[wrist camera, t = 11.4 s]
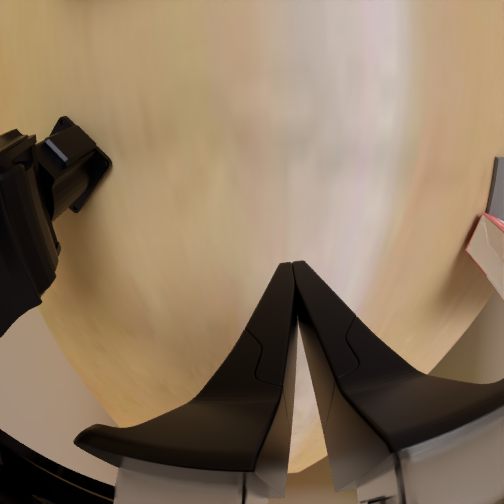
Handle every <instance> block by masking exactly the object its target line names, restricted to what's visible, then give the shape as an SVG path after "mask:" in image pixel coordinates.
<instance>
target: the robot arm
mask: <svg viewBox="0 0 504 504" xmlns="http://www.w3.org/2000/svg"><path fill="white" fill-rule="evenodd" d="M63 120H64V124H63ZM36 142H37V141H36V134H35V135H31V136H28V135H22V134H21V133H20V132H19V131H18V130H17V129H14V130H11V131H9V132H6V133H4V134H2V135H0V337H2V336H3V335H4V333H5V332H6V331H7V330H8V329H9V327H10V326H11V325H12V324H13V323H14V322H15V321H16V320H17V319H18V318H19V317H20V316H21V315H23V314H24V313H25V312H27V311H28V310H30V309H32V308H34V307H36V306H38V305H40V304H41V303H42V300H41V298H40V297H41V296H42V295H43V294H44V292H45V291H46V290H47V289H48V288H49V287H50V286H51V284H52V283H53V281H54V280H55V278H56V274H55V271H56V268H57V264H58V256H59V254H60V251H61V247H60V244H59V242H57V238H56V235H55V232H54V229H53V225H52V222H53V221H54V220H55V219H56V218H57V217H58V216H60V215H61V214H62V213H63V212H64V211H65V210H66V209H67V208H68V207H69V208H70V209H71V210H72V211H73V212H74V213H78V212H79V211H80V210H81V209H82V207H83V206H84V204H85V203H86V201H87V200H88V198H89V197H90V195H91V194H92V192H93V191H94V189H95V188H96V186H97V185H98V184H99V182H100V181H101V179H102V178H103V177H104V175H105V174H106V172H107V171H108V170H109V168H110V167H111V165H112V162H111V159H110V158H109V157H108V156H107V155H106V154H105V153H104V152H103V151H102V150H101V149H100V148H99V147H97V146H96V143H95V142H94V141H93V140H92V139H91V138H90V137H89V136H88V135H87V134H86V133H85V132H84V131H83V130H82V129H81V128H80V127H79V126H77V125H75V124H74V123H73V122H72V121H71V120H70V119H69V118H68V117H67V116H63V117H60V118H59V120H58V121H57V123H56V125H55V127H54V128H53V130H52V132H51V134H50V136H49V137H47V138H45V140H44V141H42V142H40V143H38V144H35V143H36ZM104 161H105V162H106V163H107V166H106V165H105V164H104ZM75 206H77V208H76V207H75ZM297 317H298V318H297ZM298 324H299V329H300V333H301V337H302V341H303V345H304V349H305V354H306V358H307V362H308V366H309V371H310V375H311V379H312V384H313V388H314V392H315V397H316V401H317V406H318V410H319V415H320V420H321V424H322V429H323V434H324V438H325V443H326V448H327V453H328V458H329V463H330V468H331V473H332V478H333V483H334V489H335V492H340V491H346V490H351V489H356V488H357V495H358V504H504V378H503V379H502V380H500V381H497V382H495V383H490V384H475V383H468V382H462V381H456V380H451V379H446V378H440V377H435V376H430V375H427V374H424V373H422V372H420V371H418V370H417V369H415V368H414V367H412V366H411V365H410V364H409V363H407V362H406V361H405V360H404V359H403V358H402V357H400V356H399V355H398V354H397V353H396V352H394V351H393V350H392V349H391V348H390V347H389V346H387V345H386V344H385V343H384V342H383V341H382V340H380V339H379V338H378V337H377V336H376V335H375V334H374V333H373V332H372V331H371V330H370V329H369V328H368V327H367V326H366V325H365V324H364V323H363V322H362V321H361V320H360V319H359V318H358V317H356V315H355V313H354V312H353V311H352V310H351V309H350V308H349V307H348V306H347V305H346V304H345V303H344V302H343V301H342V300H341V299H340V297H339V296H338V295H337V294H336V293H335V292H334V291H333V290H332V289H331V288H330V287H329V286H328V285H327V284H326V283H325V282H324V281H323V280H322V279H321V278H320V277H319V275H318V274H317V273H316V272H315V271H314V270H313V269H312V268H311V267H310V266H309V265H308V264H307V263H306V262H305V261H294V262H293V263H291V262H285V263H280V264H279V265H278V267H277V269H276V271H275V273H274V275H273V277H272V279H271V281H270V283H269V284H268V286H267V288H266V290H265V292H264V294H263V296H262V298H261V299H260V301H259V303H258V305H257V307H256V309H255V310H254V312H253V314H252V316H251V318H250V320H249V322H248V323H247V325H246V327H245V330H243V332H242V334H241V336H240V338H239V339H238V341H237V343H236V344H235V346H234V348H233V349H232V351H231V352H230V354H229V355H228V356H227V358H226V359H225V361H224V362H223V363H222V365H221V366H220V367H219V368H218V370H217V371H216V372H215V374H214V375H213V376H212V377H211V379H210V380H209V381H208V382H207V384H206V385H205V386H204V388H203V389H202V390H201V391H200V392H199V394H198V395H197V396H196V397H194V398H193V399H192V400H191V401H189V402H188V403H186V404H184V405H182V406H180V407H178V408H176V409H174V410H172V411H169V412H167V413H165V414H163V415H161V416H158V417H156V418H154V419H151V420H149V421H147V422H144V423H142V424H139V425H136V426H132V427H127V428H117V427H111V426H106V425H102V424H95V425H92V426H90V427H88V428H86V429H85V430H83V431H82V432H81V433H79V434H78V435H77V437H76V438H75V439H74V441H73V442H74V444H75V445H76V446H78V447H79V448H81V449H83V450H84V451H86V452H88V453H90V454H92V455H93V456H95V457H97V458H99V459H101V460H103V461H105V462H107V463H109V464H111V465H114V466H116V467H118V468H119V469H118V474H117V479H116V485H115V486H112V485H109V484H106V483H103V482H100V481H98V480H95V479H92V478H90V477H87V476H85V475H82V474H80V473H77V472H75V471H73V470H70V469H68V468H66V467H64V466H62V465H60V464H58V463H56V462H54V461H52V460H50V459H48V458H46V457H44V456H42V455H41V454H39V453H37V452H35V451H34V450H32V449H30V448H29V447H27V446H25V445H24V444H22V443H20V442H19V441H17V440H16V439H14V438H13V437H11V436H10V435H8V434H7V433H5V432H4V431H2V430H1V429H0V504H268V498H284V496H285V487H286V479H287V471H288V462H289V452H290V442H291V431H292V419H293V407H294V393H295V377H296V359H297V337H298Z"/></svg>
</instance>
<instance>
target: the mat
mask: <svg viewBox="0 0 504 504" xmlns="http://www.w3.org/2000/svg"><path fill="white" fill-rule="evenodd" d="M486 213H487V214H489V215H491V216H494V217H496V218H498V219H500V220H502V221H504V158H501V157H496V158H495V166H494V173H493V179H492V185H491V191H490V196H489V201H488V206H487V210H486Z"/></svg>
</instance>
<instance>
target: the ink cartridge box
mask: <svg viewBox="0 0 504 504" xmlns="http://www.w3.org/2000/svg"><path fill="white" fill-rule="evenodd" d="M465 251H466V252H467V253H468V254H469V256H470V257H471V258H472V259H473V261H474V262H475V263H476V264H477V265H478V267H479V268H480V269H481V271H482V272H483V273H484V274H485V276H486V277H487V278H488V280H489V281H490V282H491V284H492V285H493V286H494V288H495V289H496V290H497V292H498V293H499V294H500V296H501V297H502V299H503V300H504V221H502V220H500V219H498V218H496V217H494V216H491V215H489V214H487V213H484V212H483V213H482V215H481V217H480V219H479V222H478V224H477V226H476V228H475V230H474V232H473V234H472V237H471V239H470V240H469V242H468V244H467V246H466V248H465Z"/></svg>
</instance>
